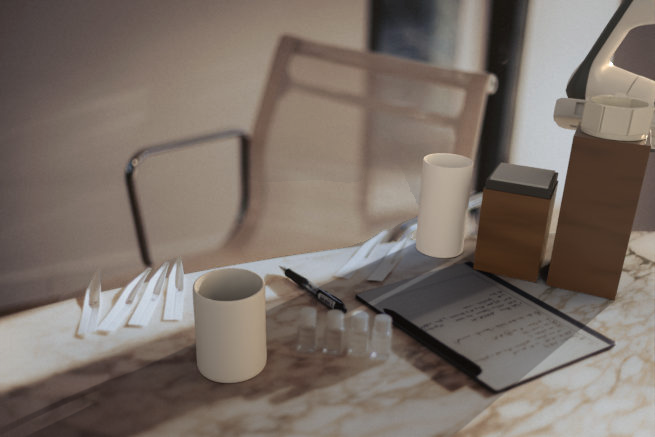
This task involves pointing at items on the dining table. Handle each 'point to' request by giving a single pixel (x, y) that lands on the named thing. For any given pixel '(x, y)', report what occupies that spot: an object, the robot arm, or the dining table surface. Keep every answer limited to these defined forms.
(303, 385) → the dining table surface
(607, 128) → the cream rounded piece
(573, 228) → the stand
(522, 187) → the scale
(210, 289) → the mug
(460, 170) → the cup
